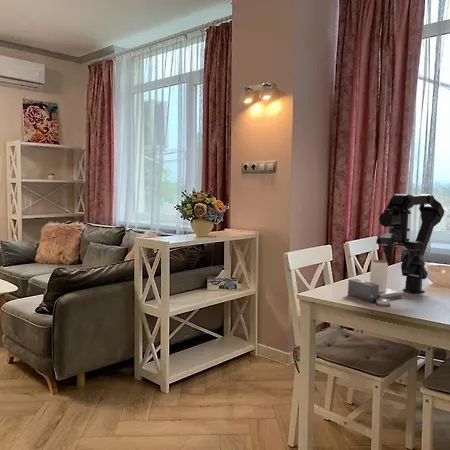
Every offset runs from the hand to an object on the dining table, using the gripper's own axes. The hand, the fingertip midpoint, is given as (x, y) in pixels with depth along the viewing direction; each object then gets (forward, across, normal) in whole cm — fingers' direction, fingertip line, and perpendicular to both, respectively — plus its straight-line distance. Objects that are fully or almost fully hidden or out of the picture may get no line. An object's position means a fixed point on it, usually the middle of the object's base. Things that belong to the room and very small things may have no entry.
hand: (397, 264), depth 188 cm
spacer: (+13, +7, -15) cm, 21 cm away
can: (+11, -3, -8) cm, 13 cm away
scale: (+13, -3, -9) cm, 16 cm away
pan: (+12, -3, -7) cm, 14 cm away
